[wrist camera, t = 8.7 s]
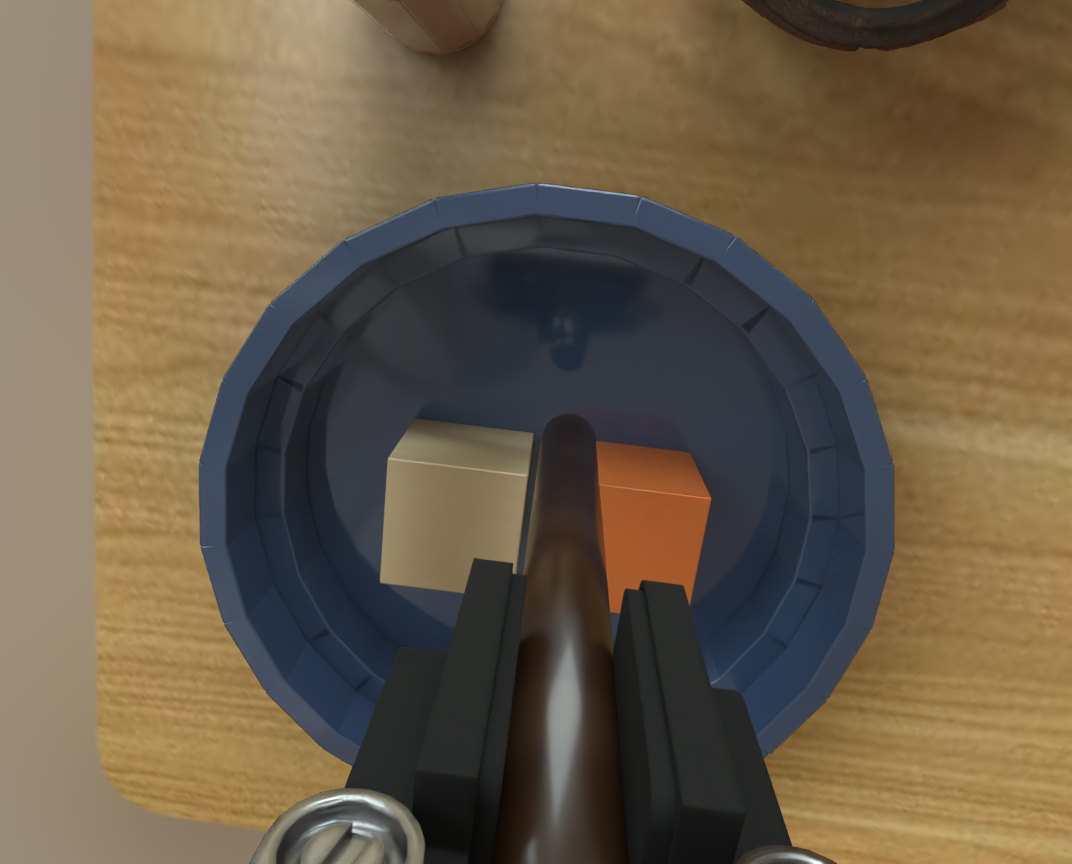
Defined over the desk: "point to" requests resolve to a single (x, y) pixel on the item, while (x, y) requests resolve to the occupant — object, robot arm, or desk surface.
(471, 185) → the desk surface
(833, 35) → the pottery mug
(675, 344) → the bowl
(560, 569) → the stick
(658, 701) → the robot arm
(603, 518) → the orange block
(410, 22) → the holder
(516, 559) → the pale block
